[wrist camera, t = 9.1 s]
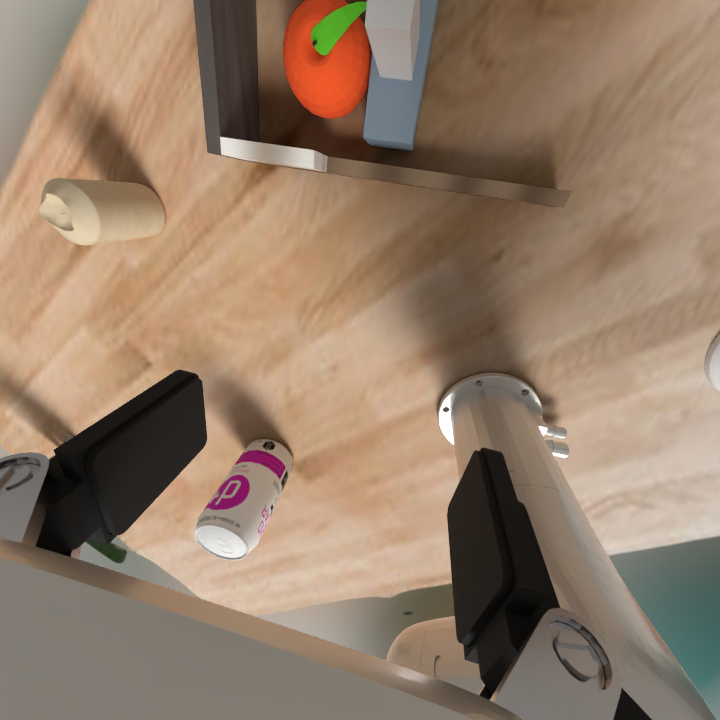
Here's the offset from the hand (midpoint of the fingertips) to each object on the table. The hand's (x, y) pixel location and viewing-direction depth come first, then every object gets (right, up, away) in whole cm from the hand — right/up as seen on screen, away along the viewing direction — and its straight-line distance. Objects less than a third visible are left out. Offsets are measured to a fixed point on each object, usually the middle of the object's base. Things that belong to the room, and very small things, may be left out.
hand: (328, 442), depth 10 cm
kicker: (+5, +27, +16) cm, 32 cm away
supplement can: (-14, -13, +41) cm, 45 cm away
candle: (-24, +20, +25) cm, 40 cm away
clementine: (0, +28, +17) cm, 33 cm away
